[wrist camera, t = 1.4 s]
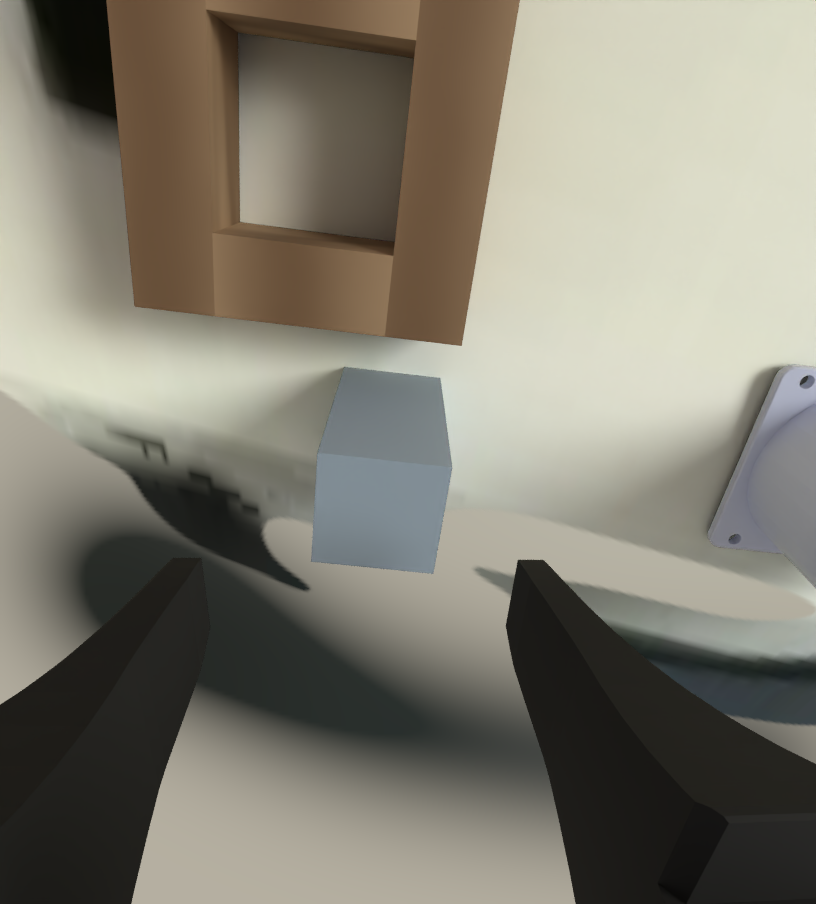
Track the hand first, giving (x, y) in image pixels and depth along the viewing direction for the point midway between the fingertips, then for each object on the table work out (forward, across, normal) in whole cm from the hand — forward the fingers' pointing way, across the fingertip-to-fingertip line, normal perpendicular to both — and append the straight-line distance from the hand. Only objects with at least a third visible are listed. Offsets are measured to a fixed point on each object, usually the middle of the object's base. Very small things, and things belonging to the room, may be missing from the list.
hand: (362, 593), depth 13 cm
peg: (+10, -1, 0) cm, 10 cm away
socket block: (+10, +2, -9) cm, 14 cm away
